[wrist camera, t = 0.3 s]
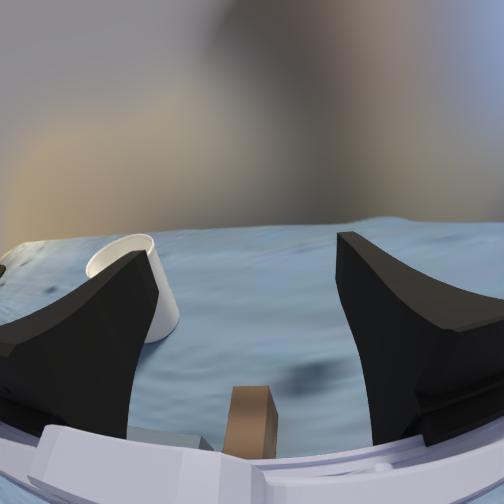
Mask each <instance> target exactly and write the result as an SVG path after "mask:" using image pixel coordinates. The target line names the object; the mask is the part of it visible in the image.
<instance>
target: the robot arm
mask: <svg viewBox="0 0 504 504" xmlns="http://www.w3.org/2000/svg"><path fill="white" fill-rule="evenodd" d="M335 280H336V284H337V289H338V293H339V297H340V301H341V304H342V307H343V310H344V312H345V315H346V318H347V321H348V323H349V326H350V329H351V332H352V334H353V337H354V340H355V343H356V346H357V349H358V352H359V356H360V360H361V364H362V369H363V374H364V379H365V385H366V391H367V397H368V404H369V411H370V419H371V428H372V440H373V446H372V447H367V448H362V449H357V450H351V451H345V452H339V453H332V454H325V455H316V456H307V457H297V458H283V459H262V460H245V459H242V458H238V457H234V456H231V455H227V454H224V453H221V452H214V451H207V450H199V449H193V448H187V447H175V446H166V445H157V444H149V443H142V442H136V441H130V440H127V423H128V412H129V404H130V397H131V390H132V385H133V380H134V375H135V370H136V366H137V362H138V359H139V356H140V353H141V350H142V348H143V345H144V342H145V339H146V337H147V334H148V331H149V328H150V326H151V323H152V320H153V317H154V315H155V311H156V307H157V302H158V297H159V289H158V287H157V284H156V281H155V278H154V275H153V272H152V269H151V265H150V262H149V259H148V256H147V253H146V250H137V251H131V252H129V253H127V254H125V255H124V256H122V257H121V258H119V259H118V260H116V261H115V262H113V263H112V264H110V265H109V266H108V267H106V268H105V269H103V270H102V271H101V272H99V273H98V274H97V275H95V276H94V277H92V278H91V279H89V280H88V281H87V282H85V283H84V284H82V285H81V286H79V287H78V288H77V289H75V290H74V291H72V292H70V293H69V294H67V295H66V296H64V297H62V298H61V299H59V300H57V301H56V302H54V303H52V304H50V305H48V306H46V307H44V308H42V309H40V310H38V311H36V312H34V313H32V314H30V315H28V316H25V317H23V318H21V319H18V320H15V321H13V322H10V323H7V324H5V325H1V326H0V476H2V477H3V478H5V479H7V480H8V481H10V482H12V483H13V484H15V485H17V486H18V487H20V488H22V489H24V490H25V491H27V492H29V493H31V494H33V495H35V496H37V497H38V498H40V499H42V500H44V501H46V502H48V503H51V504H467V503H469V502H471V501H473V500H475V499H477V498H479V497H480V496H482V495H484V494H486V493H488V492H490V491H492V490H493V489H495V488H497V487H499V486H500V485H502V484H504V300H502V299H497V298H492V297H487V296H483V295H479V294H476V293H472V292H469V291H466V290H462V289H459V288H456V287H454V286H451V285H449V284H446V283H443V282H441V281H438V280H436V279H434V278H431V277H429V276H427V275H425V274H423V273H421V272H419V271H417V270H415V269H413V268H411V267H409V266H408V265H406V264H404V263H402V262H401V261H399V260H397V259H396V258H394V257H392V256H391V255H389V254H388V253H386V252H385V251H383V250H382V249H380V248H379V247H377V246H376V245H374V244H373V243H371V242H370V241H368V240H367V239H365V238H364V237H362V236H360V235H359V234H357V233H355V232H353V231H352V232H339V233H337V255H336V277H335Z"/></svg>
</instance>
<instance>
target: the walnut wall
mask: <svg viewBox="0 0 504 504" xmlns="http://www.w3.org/2000/svg"><path fill="white" fill-rule="evenodd" d="M277 428H278V413H277V410H276V407H275V404H274V401H273V398H272V395H271V392H270V389H269V386H233V392H232V398H231V404H230V410H229V417H228V423H227V429H226V436H225V442H224V448H223V453H224V454H227V455H231V456H234V457H238V458H242V459H245V460H262V459H275V458H276V444H277Z"/></svg>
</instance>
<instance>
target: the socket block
mask: <svg viewBox="0 0 504 504" xmlns="http://www.w3.org/2000/svg"><path fill="white" fill-rule="evenodd" d="M127 440H130V441H136V442H142V443H149V444H157V445H166V446H175V447H187V448H193V449H199V450H207V451H214V449H213V448H212V447H211V446H210V445H209V444H208V443H207V442H206V441H205V439H204V438H203V437H202V436H197V435H187V434H179V433H171V432H163V431H157V430H150V429H144V428H139V427H133V426H128V425H127Z"/></svg>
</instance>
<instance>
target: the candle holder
mask: <svg viewBox="0 0 504 504" xmlns="http://www.w3.org/2000/svg"><path fill="white" fill-rule="evenodd" d="M137 250H146V253H147V256H148V259H149V262H150V265H151V269H152V272H153V275H154V278H155V281H156V284H157V287H158V289H159V297H158V302H157V307H156V311H155V315H154V317H153V320H152V323H151V326H150V328H149V331H148V334H147V337H146V339H145V342H144V343H152V342H156V341H159V340H161V339H163V338H164V337H166V336H167V335H169V334H170V333H171V332H172V331H173V330H174V328H175V327H176V325H177V324H178V321H179V316H180V315H179V310H178V307H177V304H176V301H175V299H174V296H173V294H172V291H171V288H170V286H169V283H168V280H167V278H166V275H165V272H164V270H163V267H162V264H161V262H160V259H159V256H158V253H157V250H156V247H155V243H154V240H153V239H152V237H150V236H149V235H145V234H135V235H130V236H126V237H123V238H120V239H118V240H116V241H114V242H112V243H110V244H108V245H106V246H105V247H103V248H102V249H101V250H99V251H98V252H97V253H96V254H95V255H94V256H93V257H92V258H91V259H90V261H89V262H88V264H87V266H86V270H85V273H86V276H87V278H88V279H91V278H92V277H94V276H95V275H97V274H98V273H99V272H101V271H102V270H103V269H105V268H106V267H108V266H109V265H110V264H112V263H113V262H115V261H116V260H118V259H119V258H121V257H122V256H124V255H125V254H127V253H129V252H131V251H137Z"/></svg>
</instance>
